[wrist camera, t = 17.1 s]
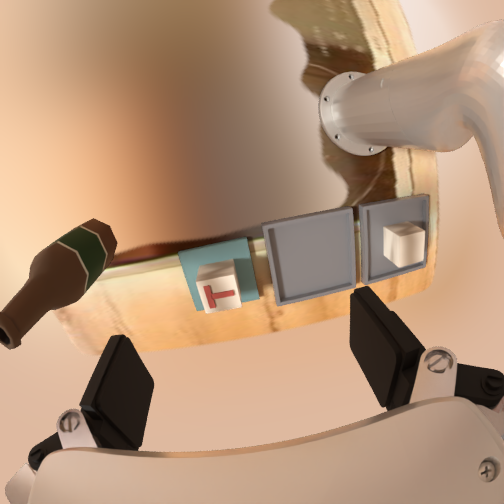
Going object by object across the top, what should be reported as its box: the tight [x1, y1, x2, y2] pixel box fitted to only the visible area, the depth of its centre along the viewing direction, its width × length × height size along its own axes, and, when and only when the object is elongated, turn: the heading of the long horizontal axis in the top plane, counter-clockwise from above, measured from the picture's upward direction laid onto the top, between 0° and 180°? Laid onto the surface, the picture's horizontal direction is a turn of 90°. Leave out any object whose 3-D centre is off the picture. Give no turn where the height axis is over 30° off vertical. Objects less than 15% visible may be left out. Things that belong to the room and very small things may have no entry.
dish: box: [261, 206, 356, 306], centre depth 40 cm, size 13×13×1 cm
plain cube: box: [383, 221, 425, 268], centre depth 38 cm, size 5×5×5 cm
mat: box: [178, 237, 260, 311], centre depth 40 cm, size 10×10×1 cm
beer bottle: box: [0, 218, 117, 349], centre depth 26 cm, size 8×8×24 cm
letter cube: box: [196, 259, 242, 314], centre depth 37 cm, size 5×5×5 cm
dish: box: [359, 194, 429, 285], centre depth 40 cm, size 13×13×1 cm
